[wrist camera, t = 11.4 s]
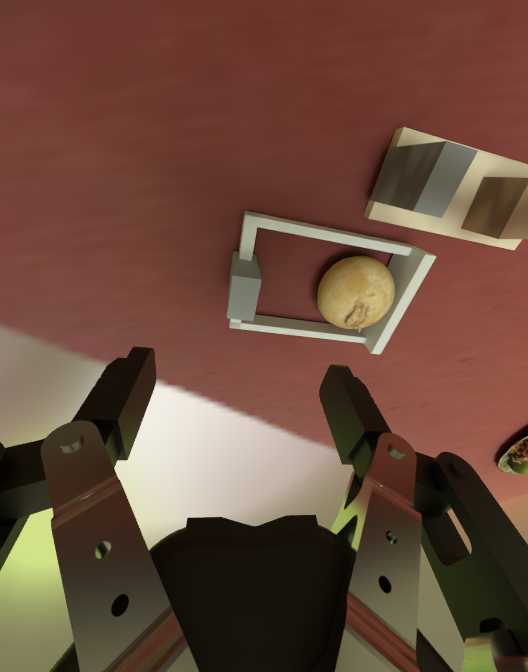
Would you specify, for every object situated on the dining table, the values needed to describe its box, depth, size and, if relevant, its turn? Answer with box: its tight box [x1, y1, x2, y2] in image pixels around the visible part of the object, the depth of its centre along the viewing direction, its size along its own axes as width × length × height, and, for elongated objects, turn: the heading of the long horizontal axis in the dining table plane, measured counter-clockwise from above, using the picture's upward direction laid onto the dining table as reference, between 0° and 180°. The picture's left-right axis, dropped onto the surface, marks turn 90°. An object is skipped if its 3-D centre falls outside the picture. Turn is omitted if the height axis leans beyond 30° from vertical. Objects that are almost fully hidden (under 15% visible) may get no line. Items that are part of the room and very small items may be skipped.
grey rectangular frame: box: [227, 211, 436, 354], centre depth 25 cm, size 12×19×7 cm, turn 79°
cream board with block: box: [363, 127, 528, 250], centre depth 21 cm, size 7×19×8 cm, turn 79°
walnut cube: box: [461, 177, 528, 239], centre depth 23 cm, size 4×4×4 cm
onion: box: [317, 256, 395, 332], centre depth 26 cm, size 8×8×7 cm
